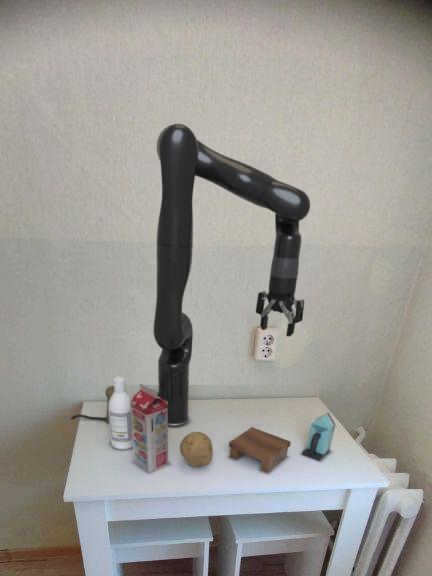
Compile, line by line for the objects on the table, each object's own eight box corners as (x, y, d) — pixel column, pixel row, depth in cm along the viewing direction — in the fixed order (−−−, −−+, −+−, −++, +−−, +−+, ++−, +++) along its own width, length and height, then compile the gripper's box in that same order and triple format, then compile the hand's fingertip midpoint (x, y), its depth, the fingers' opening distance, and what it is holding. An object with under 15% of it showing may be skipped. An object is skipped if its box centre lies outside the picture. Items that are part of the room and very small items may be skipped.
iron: (319, 409, 133) (308, 418, 128) (337, 415, 130) (327, 424, 125) (312, 445, 139) (301, 454, 134) (329, 451, 137) (319, 461, 132)
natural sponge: (181, 455, 131) (181, 423, 125) (212, 457, 131) (214, 425, 125) (178, 472, 123) (178, 440, 118) (211, 475, 123) (213, 442, 118)
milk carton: (152, 453, 130) (150, 380, 118) (168, 463, 127) (167, 388, 114) (133, 462, 127) (129, 386, 114) (148, 472, 123) (146, 395, 110)
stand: (250, 441, 139) (252, 426, 136) (288, 456, 133) (290, 441, 130) (227, 457, 131) (229, 442, 128) (267, 474, 125) (269, 458, 122)
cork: (121, 425, 143) (119, 392, 137) (103, 423, 144) (100, 390, 138) (128, 417, 148) (126, 384, 142) (110, 414, 149) (108, 382, 142)
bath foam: (137, 448, 133) (134, 382, 121) (113, 451, 130) (108, 385, 119) (132, 436, 138) (129, 372, 126) (109, 439, 136) (103, 375, 124)
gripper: (254, 271, 128) (249, 330, 138) (300, 280, 122) (291, 341, 131) (268, 268, 134) (262, 324, 143) (313, 276, 127) (303, 335, 136)
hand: (276, 332), depth 137 cm, fingers open, 8 cm apart
